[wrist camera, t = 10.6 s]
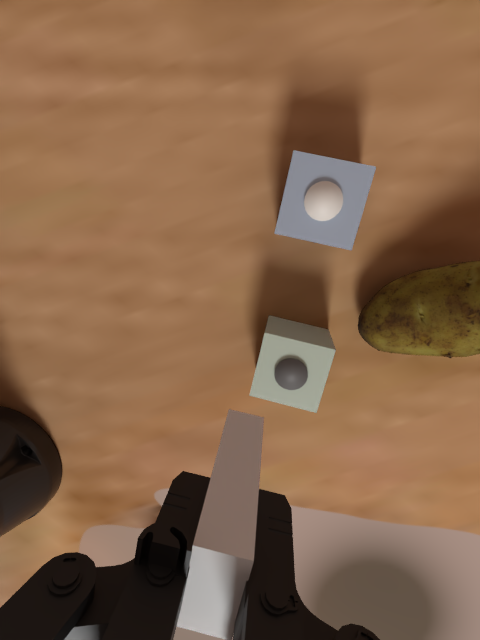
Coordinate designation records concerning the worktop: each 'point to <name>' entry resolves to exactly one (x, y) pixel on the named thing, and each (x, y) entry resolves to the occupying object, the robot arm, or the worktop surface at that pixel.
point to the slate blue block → (324, 199)
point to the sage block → (293, 364)
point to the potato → (427, 313)
